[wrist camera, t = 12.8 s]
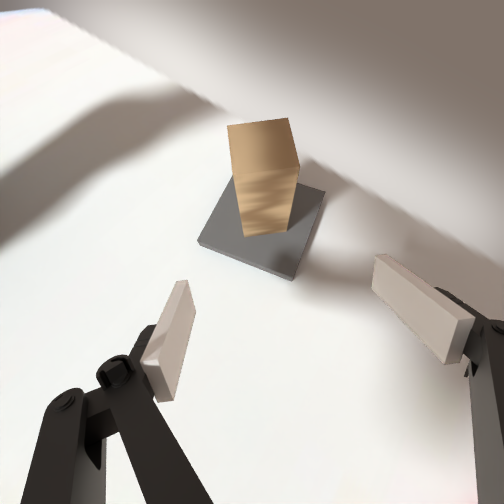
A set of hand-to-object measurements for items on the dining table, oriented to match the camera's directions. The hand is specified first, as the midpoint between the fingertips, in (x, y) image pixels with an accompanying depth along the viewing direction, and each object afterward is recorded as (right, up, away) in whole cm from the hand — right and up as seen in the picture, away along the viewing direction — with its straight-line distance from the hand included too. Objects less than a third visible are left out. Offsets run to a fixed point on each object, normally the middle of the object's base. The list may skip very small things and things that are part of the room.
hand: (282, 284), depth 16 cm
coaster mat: (-1, +6, +13) cm, 15 cm away
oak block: (-1, +7, +12) cm, 14 cm away
